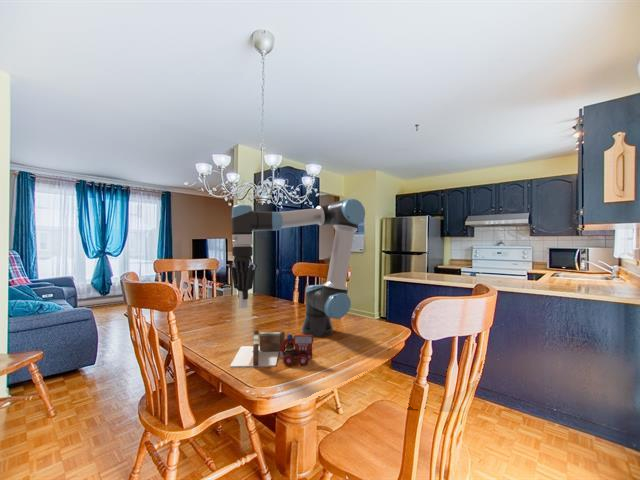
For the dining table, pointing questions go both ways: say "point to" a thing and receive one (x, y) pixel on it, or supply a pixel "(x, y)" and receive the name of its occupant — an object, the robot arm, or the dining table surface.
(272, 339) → the fence fixed section
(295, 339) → the toy fire truck
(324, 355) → the dining table surface
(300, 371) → the dining table surface
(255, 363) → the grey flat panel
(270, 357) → the card
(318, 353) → the dining table surface
